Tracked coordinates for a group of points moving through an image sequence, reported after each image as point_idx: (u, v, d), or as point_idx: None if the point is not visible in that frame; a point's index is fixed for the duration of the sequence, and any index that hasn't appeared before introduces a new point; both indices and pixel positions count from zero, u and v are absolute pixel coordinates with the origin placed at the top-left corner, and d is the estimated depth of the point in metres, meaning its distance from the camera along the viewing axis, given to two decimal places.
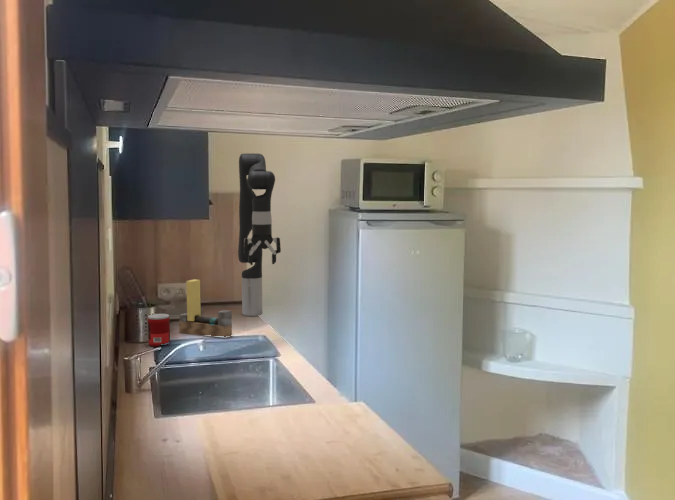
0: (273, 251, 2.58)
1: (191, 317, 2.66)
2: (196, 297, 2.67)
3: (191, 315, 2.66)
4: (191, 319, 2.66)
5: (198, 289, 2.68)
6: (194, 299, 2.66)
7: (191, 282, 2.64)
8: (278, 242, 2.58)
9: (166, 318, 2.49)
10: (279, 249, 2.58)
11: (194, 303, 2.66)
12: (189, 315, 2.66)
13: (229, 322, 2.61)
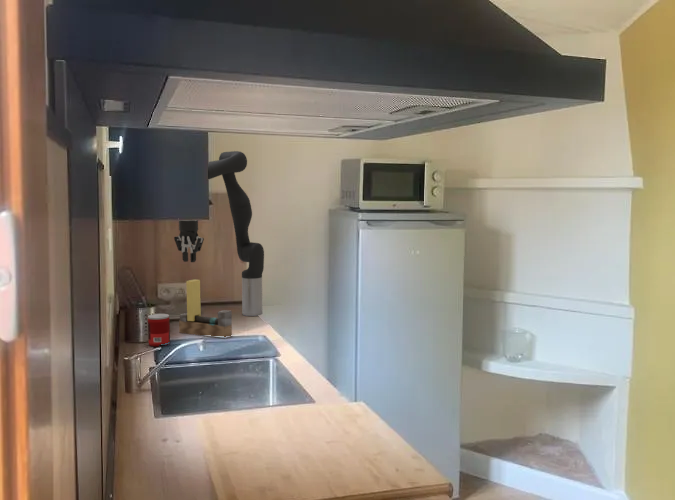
0: None
1: (191, 317, 2.66)
2: (196, 297, 2.67)
3: (191, 315, 2.66)
4: (191, 319, 2.66)
5: (198, 289, 2.68)
6: (194, 299, 2.66)
7: (191, 282, 2.64)
8: None
9: (166, 318, 2.49)
10: None
11: (194, 303, 2.66)
12: (189, 315, 2.66)
13: (229, 322, 2.61)
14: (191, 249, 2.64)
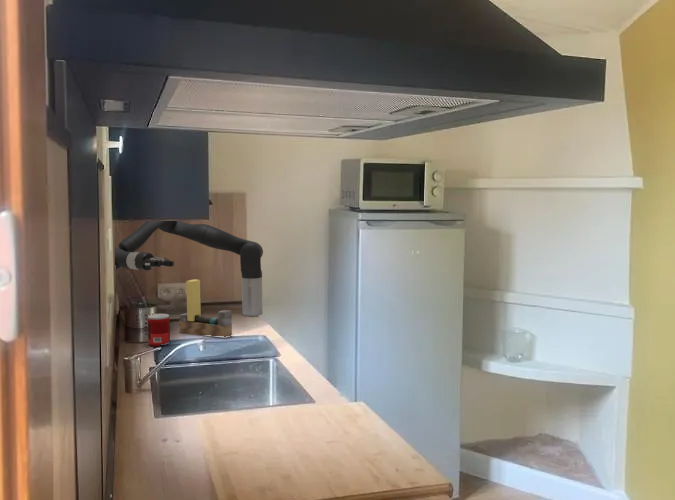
0: (163, 260, 2.73)
1: (191, 317, 2.66)
2: (196, 297, 2.67)
3: (191, 315, 2.66)
4: (191, 319, 2.66)
5: (198, 289, 2.68)
6: (194, 299, 2.66)
7: (191, 282, 2.64)
8: (165, 258, 2.78)
9: (166, 318, 2.49)
10: (166, 259, 2.75)
11: (194, 303, 2.66)
12: (189, 315, 2.66)
13: (229, 322, 2.61)
14: (161, 266, 2.72)
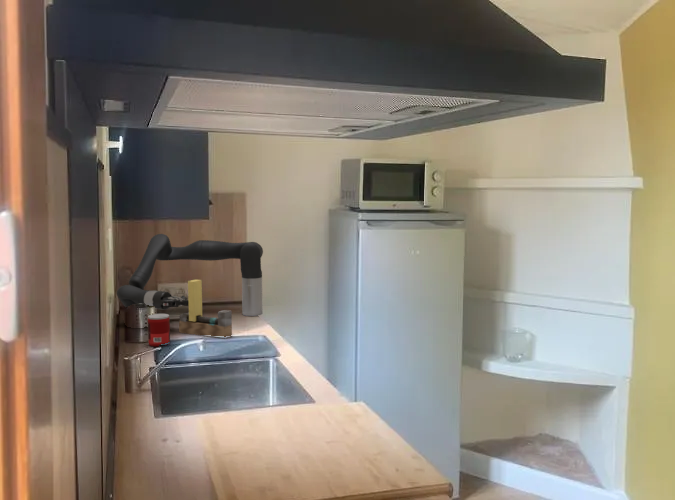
0: (181, 299, 2.70)
1: (193, 317, 2.66)
2: (197, 297, 2.66)
3: (193, 315, 2.65)
4: (193, 319, 2.66)
5: (200, 289, 2.67)
6: (196, 299, 2.65)
7: (193, 282, 2.64)
8: (183, 296, 2.75)
9: (166, 318, 2.49)
10: (184, 298, 2.72)
11: (196, 303, 2.66)
12: (191, 315, 2.66)
13: (229, 322, 2.61)
14: None
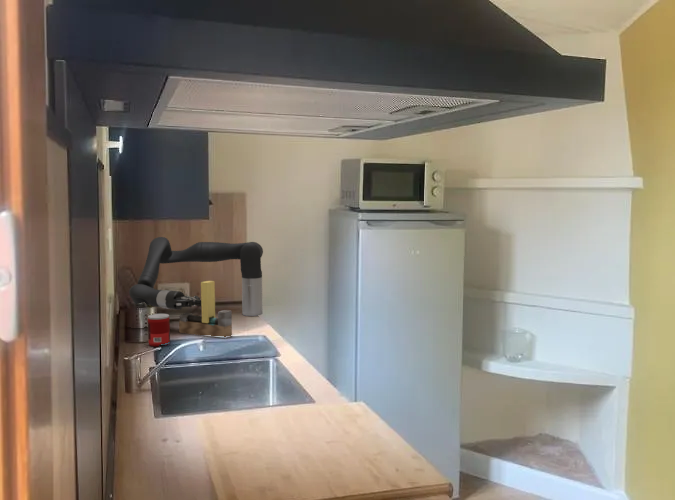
0: (194, 299, 2.67)
1: (206, 319, 2.63)
2: (210, 299, 2.63)
3: (206, 317, 2.63)
4: (206, 321, 2.63)
5: (213, 290, 2.64)
6: (209, 301, 2.62)
7: (206, 283, 2.61)
8: (196, 296, 2.72)
9: (166, 318, 2.49)
10: (197, 298, 2.70)
11: (209, 304, 2.63)
12: (204, 317, 2.63)
13: (229, 322, 2.61)
14: None
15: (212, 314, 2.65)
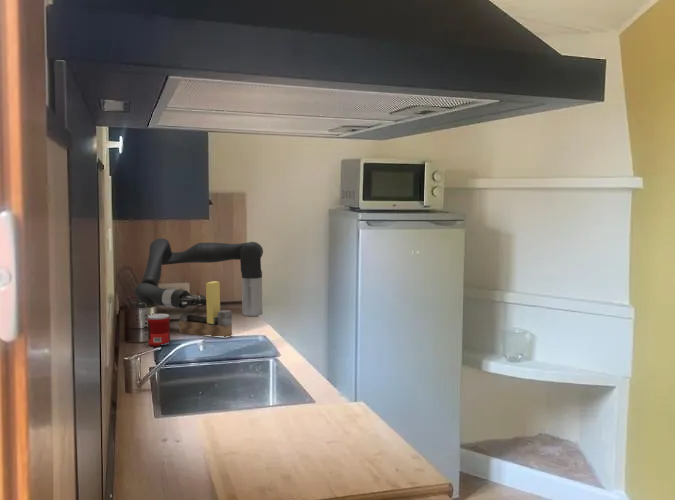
0: (200, 298, 2.66)
1: (211, 319, 2.62)
2: (216, 299, 2.62)
3: (211, 317, 2.61)
4: (211, 321, 2.62)
5: (218, 291, 2.63)
6: (214, 301, 2.61)
7: (211, 284, 2.60)
8: (201, 295, 2.71)
9: (166, 318, 2.49)
10: (202, 297, 2.69)
11: (214, 305, 2.62)
12: (209, 317, 2.62)
13: (229, 322, 2.61)
14: None
15: (217, 315, 2.64)
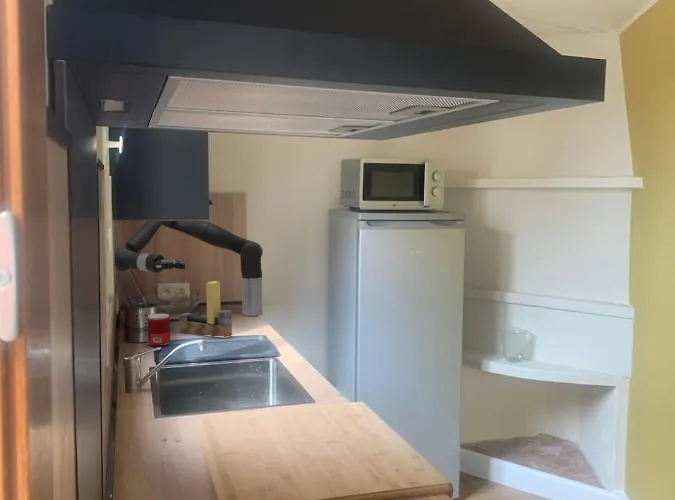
0: (174, 262, 2.71)
1: (211, 319, 2.62)
2: (216, 299, 2.62)
3: (211, 317, 2.61)
4: (211, 321, 2.62)
5: (218, 291, 2.63)
6: (214, 301, 2.61)
7: (211, 284, 2.60)
8: (176, 260, 2.76)
9: (166, 318, 2.49)
10: (177, 261, 2.73)
11: (214, 305, 2.62)
12: (209, 317, 2.62)
13: (229, 322, 2.61)
14: None
15: (217, 315, 2.64)
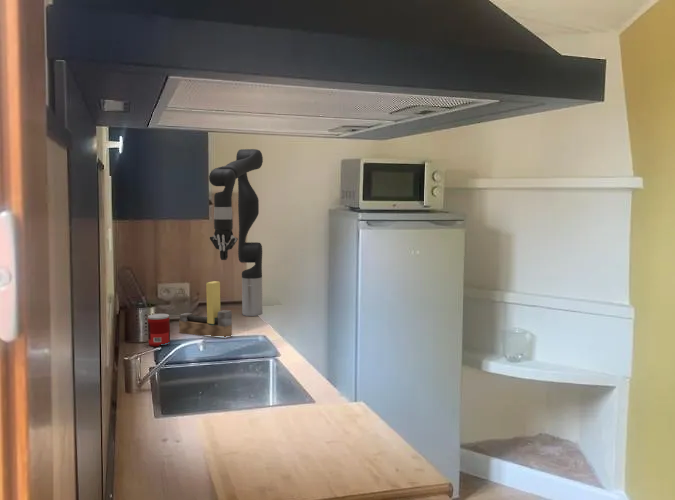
0: None
1: (211, 319, 2.62)
2: (216, 299, 2.62)
3: (211, 317, 2.61)
4: (211, 321, 2.62)
5: (218, 291, 2.63)
6: (214, 301, 2.61)
7: (211, 284, 2.60)
8: None
9: (166, 318, 2.49)
10: None
11: (214, 305, 2.62)
12: (209, 317, 2.62)
13: (229, 322, 2.61)
14: (223, 247, 2.71)
15: (217, 315, 2.64)
